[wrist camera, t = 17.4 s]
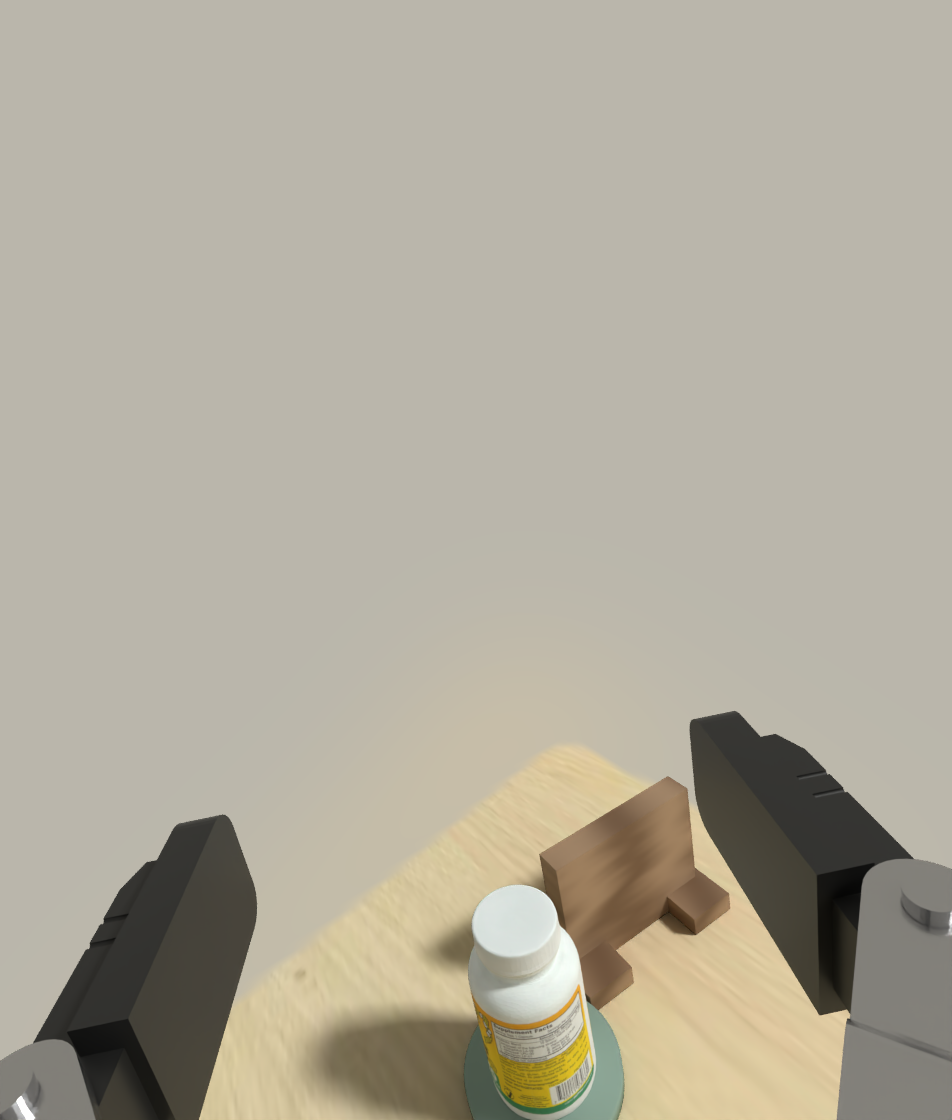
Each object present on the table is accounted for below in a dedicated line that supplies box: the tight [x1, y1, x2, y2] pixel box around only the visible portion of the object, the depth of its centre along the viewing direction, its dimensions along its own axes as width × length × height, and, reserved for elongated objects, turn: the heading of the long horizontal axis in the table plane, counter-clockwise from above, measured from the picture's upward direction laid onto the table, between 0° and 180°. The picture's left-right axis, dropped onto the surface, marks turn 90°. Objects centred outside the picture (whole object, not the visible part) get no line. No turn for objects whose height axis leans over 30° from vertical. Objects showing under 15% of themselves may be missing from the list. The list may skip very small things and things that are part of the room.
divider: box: [539, 777, 730, 1010], centre depth 39 cm, size 11×6×8 cm, turn 120°
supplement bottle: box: [468, 885, 596, 1120], centre depth 31 cm, size 5×5×10 cm
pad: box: [464, 1001, 624, 1120], centre depth 33 cm, size 8×8×1 cm
